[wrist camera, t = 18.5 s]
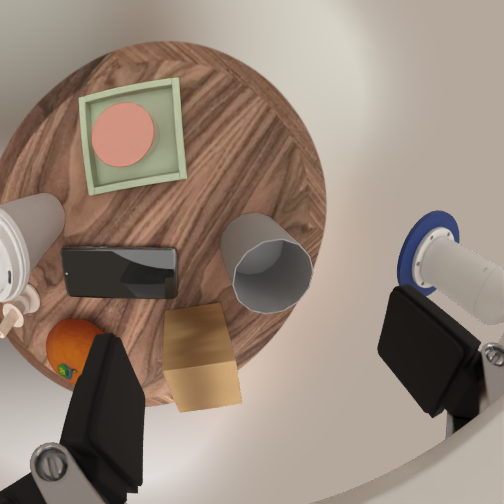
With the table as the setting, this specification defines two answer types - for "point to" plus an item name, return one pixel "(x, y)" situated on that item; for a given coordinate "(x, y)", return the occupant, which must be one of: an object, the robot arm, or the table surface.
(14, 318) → the candle
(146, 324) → the table surface
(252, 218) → the cup
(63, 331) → the fruit
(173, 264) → the smartphone
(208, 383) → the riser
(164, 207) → the table surface
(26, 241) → the coffee cup
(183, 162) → the tray
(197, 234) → the table surface
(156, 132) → the orange cylinder puck
